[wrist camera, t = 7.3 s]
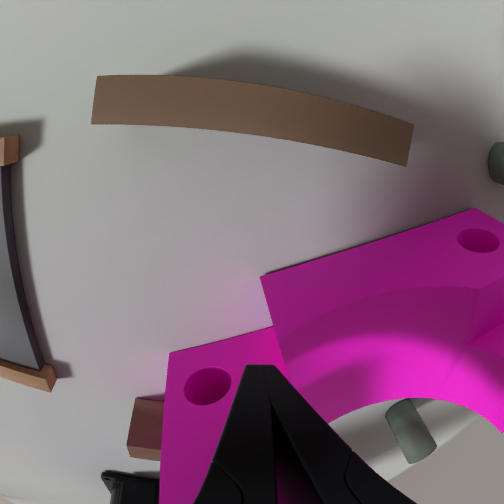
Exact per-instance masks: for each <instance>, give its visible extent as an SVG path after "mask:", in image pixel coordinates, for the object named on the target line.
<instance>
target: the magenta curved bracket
mask: <svg viewBox="0 0 504 504" xmlns="http://www.w3.org/2000/svg"><path fill="white" fill-rule="evenodd" d="M260 279H261V283H262V286H263V290H264V294H265V297H266V301H267V304H268V308H269V311H270V315H271V318H272V322H273V327H270V328H266V329H263V330H259V331H256V332H252V333H248V334H245V335H241V336H237V337H234V338H230V339H226V340H222V341H218V342H214V343H210V344H206V345H202V346H198V347H194V348H190V349H186V350H181V351H177V352H172V353H169V361H168V371H167V381H166V391H165V402H164V414H163V428H162V443H161V462H160V489H159V504H193V502H194V501H195V499H196V497H197V495H198V493H199V491H200V489H201V486H202V484H203V482H204V479H205V477H206V475H207V472H208V469H209V466H210V464H211V462H212V459H213V456H214V453H215V451H216V448H217V445H218V442H219V439H220V437H221V434H222V431H223V428H224V425H225V423H226V420H227V417H228V414H229V411H230V408H231V405H232V403H233V400H234V397H235V394H236V391H237V388H238V385H239V382H240V379H241V376H242V373H243V370H244V367H245V365H246V364H273V365H275V366H276V367H277V368H278V369H279V371H280V372H281V373H282V374H283V375H284V376H285V377H286V378H287V380H288V381H289V382H290V383H291V384H292V385H293V386H294V388H295V389H296V390H297V391H298V392H299V393H300V394H301V395H302V396H303V398H304V399H305V400H306V401H307V402H308V403H309V404H310V405H311V406H312V407H313V409H314V410H315V411H316V412H317V413H318V414H319V415H320V416H321V417H322V418H323V419H324V420H325V422H326V423H327V424H328V423H330V422H332V421H333V420H335V419H337V418H339V417H341V416H343V415H345V414H347V413H349V412H351V411H354V410H356V409H359V408H362V407H364V406H368V405H371V404H374V403H378V402H383V401H387V400H393V399H400V398H432V399H439V400H445V401H449V402H453V403H456V404H459V405H462V406H464V407H467V408H469V409H471V410H473V411H475V412H477V413H479V414H480V415H482V416H483V417H485V418H486V419H487V420H489V421H490V422H491V423H492V424H493V425H494V426H495V427H496V428H497V429H498V430H499V431H500V432H501V433H503V432H504V224H502V223H501V222H499V221H497V220H496V219H494V218H492V217H490V216H489V215H487V214H485V213H483V212H482V211H480V210H478V209H476V208H473V209H470V210H467V211H464V212H462V213H459V214H456V215H453V216H450V217H447V218H444V219H441V220H438V221H435V222H432V223H429V224H426V225H423V226H420V227H417V228H414V229H411V230H408V231H405V232H402V233H399V234H396V235H393V236H390V237H387V238H384V239H381V240H378V241H374V242H371V243H368V244H365V245H362V246H359V247H356V248H352V249H349V250H346V251H343V252H340V253H336V254H333V255H330V256H327V257H324V258H320V259H317V260H314V261H311V262H307V263H304V264H301V265H297V266H294V267H291V268H287V269H284V270H281V271H277V272H274V273H271V274H267V275H264V276H261V277H260Z"/></svg>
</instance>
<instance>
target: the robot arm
mask: <svg viewBox="0 0 504 504" xmlns="http://www.w3.org/2000/svg"><path fill="white" fill-rule="evenodd" d="M101 478H102V480H103V482H104V483H105V485H106V487H107V488H108V490H109V491H110V493H111V501H110V504H159V489H160V481H154V480H147V479H140V478H133V477H127V476H122V475H116V474H111V473H107V472H102V474H101ZM193 504H417V503H415V502H414V501H413V500H411V499H410V498H408V497H407V496H405V495H404V494H403V493H401V492H400V491H399V490H397V489H396V488H394V487H393V486H392V485H391V484H389V483H388V482H387V481H386V480H384V479H383V478H382V477H381V476H380V475H378V474H377V473H376V472H375V471H374V470H373V469H372V468H371V467H370V466H368V465H367V464H366V463H365V462H364V461H363V460H362V459H361V458H360V457H359V456H358V455H357V454H356V453H355V452H354V451H352V449H351V448H350V447H349V446H348V445H347V444H346V443H345V442H344V441H343V439H342V438H341V437H340V436H339V435H338V434H337V433H336V432H335V431H334V430H333V429H332V428H331V427H330V426H329V425H328V424H327V423H326V422H325V420H324V419H323V418H322V417H321V416H320V415H319V414H318V413H317V412H316V411H315V410H314V409H313V407H312V406H311V405H310V404H309V403H308V402H307V401H306V400H305V399H304V398H303V396H302V395H301V394H300V393H299V392H298V391H297V390H296V389H295V388H294V386H293V385H292V384H291V383H290V382H289V381H288V380H287V378H286V377H285V376H284V375H283V374H282V373H281V372H280V371H279V369H278V368H277V367H276V366H275V365H273V364H246V365H245V367H244V370H243V373H242V376H241V379H240V382H239V385H238V388H237V391H236V394H235V397H234V400H233V403H232V405H231V408H230V411H229V414H228V417H227V420H226V423H225V425H224V428H223V431H222V434H221V437H220V439H219V442H218V445H217V448H216V451H215V453H214V456H213V459H212V462H211V464H210V466H209V469H208V472H207V475H206V477H205V479H204V482H203V484H202V486H201V489H200V491H199V493H198V495H197V497H196V499H195V501H194V502H193Z"/></svg>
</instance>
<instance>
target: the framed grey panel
mask: <svg viewBox="0 0 504 504" xmlns="http://www.w3.org/2000/svg"><path fill="white" fill-rule="evenodd" d="M91 124H126V125H155V126H173V127H187V128H199V129H209V130H219V131H228V132H236V133H244V134H252V135H259V136H266V137H272V138H279V139H285V140H291V141H296V142H302V143H307V144H313V145H318V146H323V147H328V148H332V149H337V150H342V151H346V152H351V153H355V154H359V155H363V156H367V157H371V158H375V159H379V160H383V161H387V162H391V163H394V164H398V165H402V166H405V167H406V165H407V160H408V154H409V149H410V144H411V138H412V132H413V126H414V124H411V123H408V122H405V121H403V120H400V119H397V118H394V117H391V116H388V115H385V114H382V113H379V112H375V111H372V110H369V109H366V108H362V107H359V106H355V105H352V104H348V103H344V102H341V101H337V100H333V99H329V98H325V97H321V96H316V95H312V94H307V93H303V92H298V91H293V90H288V89H283V88H277V87H272V86H266V85H259V84H253V83H246V82H238V81H230V80H222V79H212V78H201V77H187V76H168V75H107V76H97V80H96V87H95V95H94V103H93V111H92V121H91ZM18 161H19V135H17V136H6V137H0V377H3V378H5V379H8V380H11V381H14V382H17V383H20V384H23V385H27V386H30V387H33V388H37V389H40V390H44V391H47V392H51V391H52V389H53V387H54V384H55V382H56V380H57V379H56V376H55V373H54V370H53V367H52V366H49V365H45V364H44V362H43V359H42V356H41V353H40V350H39V347H38V344H37V341H36V337H35V334H34V330H33V327H32V323H31V320H30V316H29V312H28V308H27V304H26V300H25V295H24V291H23V286H22V281H21V276H20V271H19V265H18V260H17V253H16V246H15V239H14V231H13V222H12V211H11V196H10V164H12V163H15V162H18ZM488 165H489V172H490V175H491V177H492V179H493V180H494V181H495V182H498V183H500V184H503V185H504V143H496V144H495V145H494V146H493V147H492V149H491V151H490V155H489V162H488ZM163 414H164V402H162V401H154V400H146V399H138V398H136V399H135V403H134V408H133V413H132V418H131V423H130V429H129V434H128V440H127V448H128V451H129V454H130V457H134V458H140V459H147V460H155V461H161V443H162V428H163ZM385 417H386V419H387V421H388V423H389V425H390V427H391V429H392V431H393V433H394V435H395V437H396V439H397V441H398V443H399V445H400V447H401V449H402V451H403V453H404V455H405V458H406V460H407V462H408V463H409V464H412V463H416V462H418V461H420V460H422V459H424V458H425V457H427V456H428V455H430V454H431V453H432V452H433V451H434V450H435V449H436V447H437V445H436V443H435V441H434V439H433V438H432V436H431V434H430V432H429V431H428V429H427V427H426V425H425V424H424V422H423V420H422V419H421V417H420V415H419V414H418V412H417V410H416V409H415V407H414V405H413V404H412V402H411V401H410V400H403V401H400V402H398V403H396V404H395V405H393V406H392V407H391V408H390V409H389V410H388V411H387V412H386V414H385Z"/></svg>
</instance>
